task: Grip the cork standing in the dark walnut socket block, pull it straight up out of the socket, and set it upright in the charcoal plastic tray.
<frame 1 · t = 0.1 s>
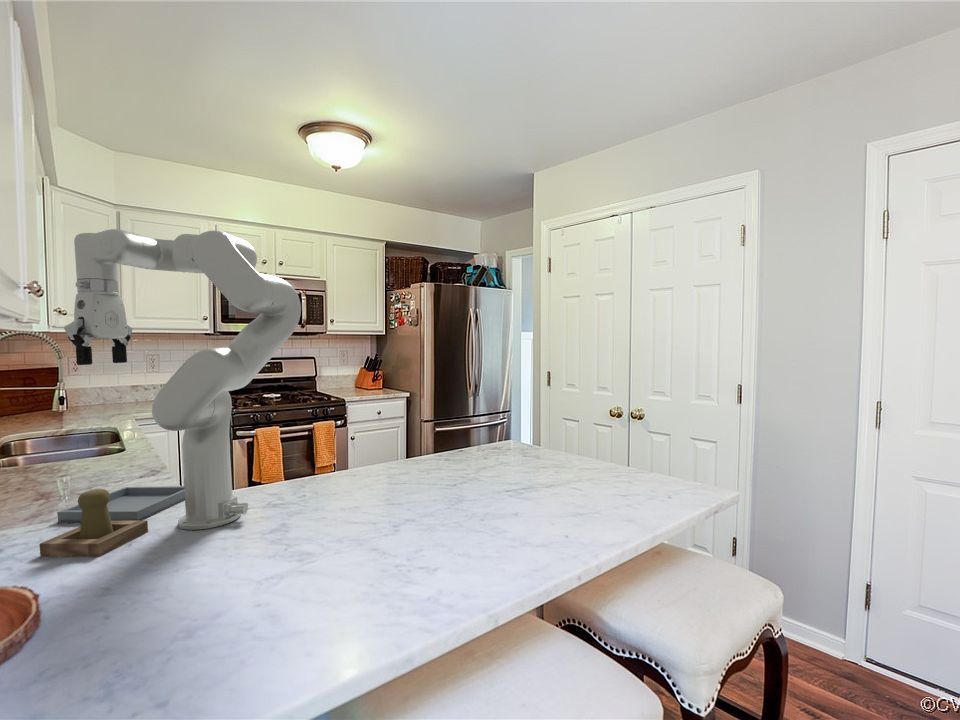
hand: (103, 363, 115), 37 cm above the countertop, tool pointing down, fingers open, 9 cm apart
socket block: (97, 543, 103), on the countertop
cork: (97, 544, 103), resting in socket block
tray: (131, 507, 125), on the countertop
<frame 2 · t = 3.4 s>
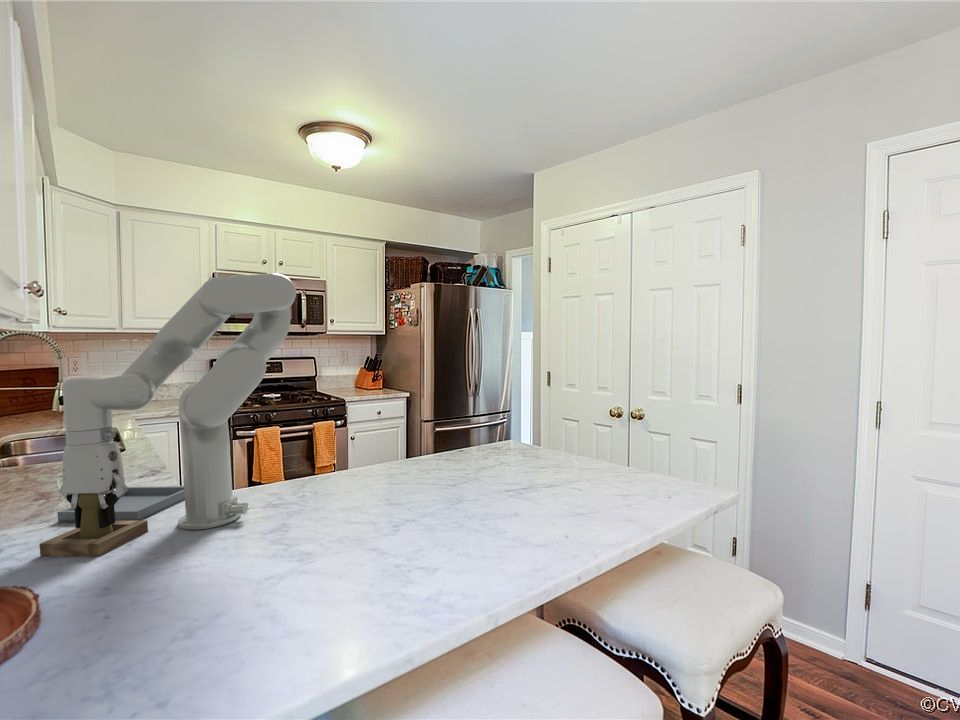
hand: (95, 524, 102), 4 cm above the countertop, tool pointing down, fingers closed on cork, 4 cm apart
cork: (97, 544, 102), resting in socket block, touching gripper
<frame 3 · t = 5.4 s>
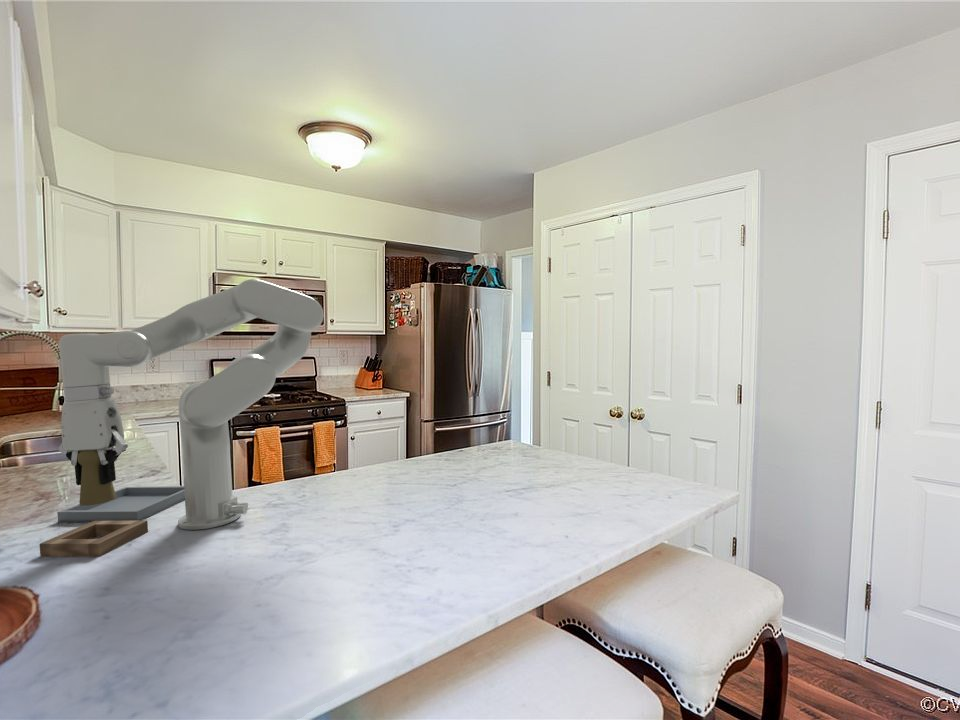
hand: (96, 481, 102), 13 cm above the countertop, tool pointing down, fingers closed on cork, 4 cm apart
cork: (98, 501, 103), point 9 cm above the countertop, touching gripper
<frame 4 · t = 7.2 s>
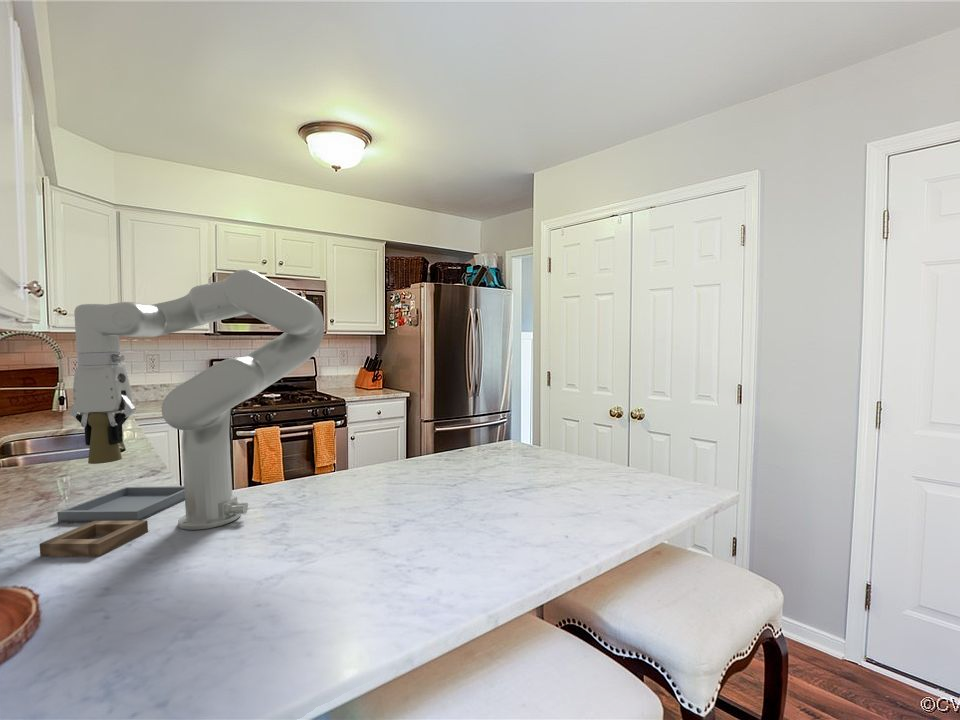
hand: (104, 442, 110), 19 cm above the countertop, tool pointing down, fingers closed on cork, 4 cm apart
cork: (105, 461, 110), point 15 cm above the countertop, touching gripper
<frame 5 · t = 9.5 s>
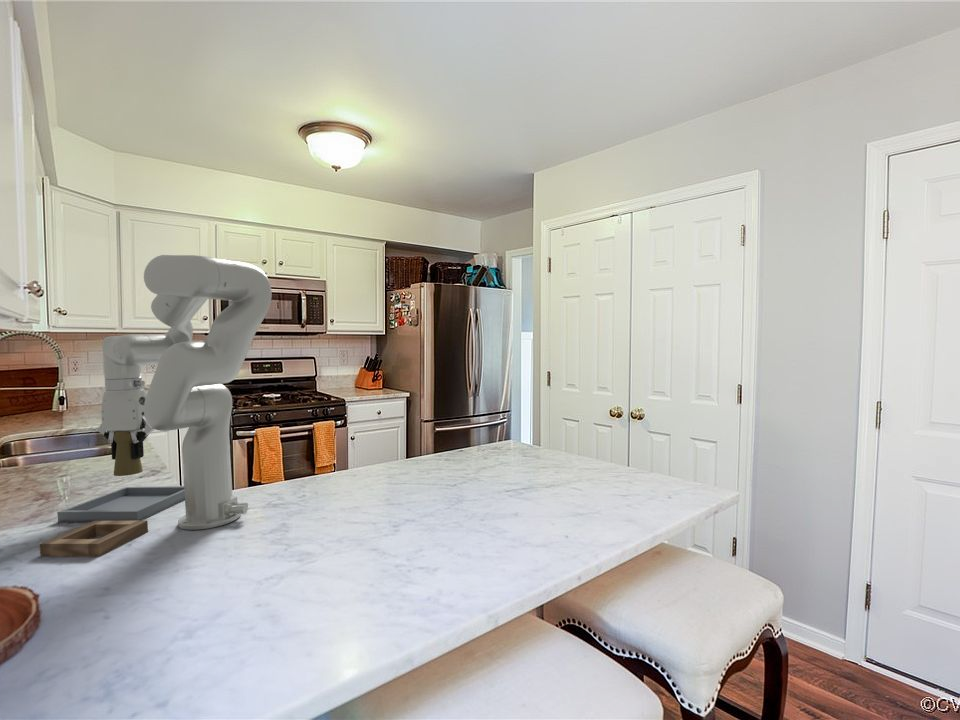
hand: (128, 457, 125), 13 cm above the countertop, tool pointing down, fingers closed on cork, 4 cm apart
cork: (128, 473, 125), point 9 cm above the countertop, touching gripper
when the fingers open (6 cm above the countertop, at t = 11.1 s): cork drops 1 cm, resting on tray.
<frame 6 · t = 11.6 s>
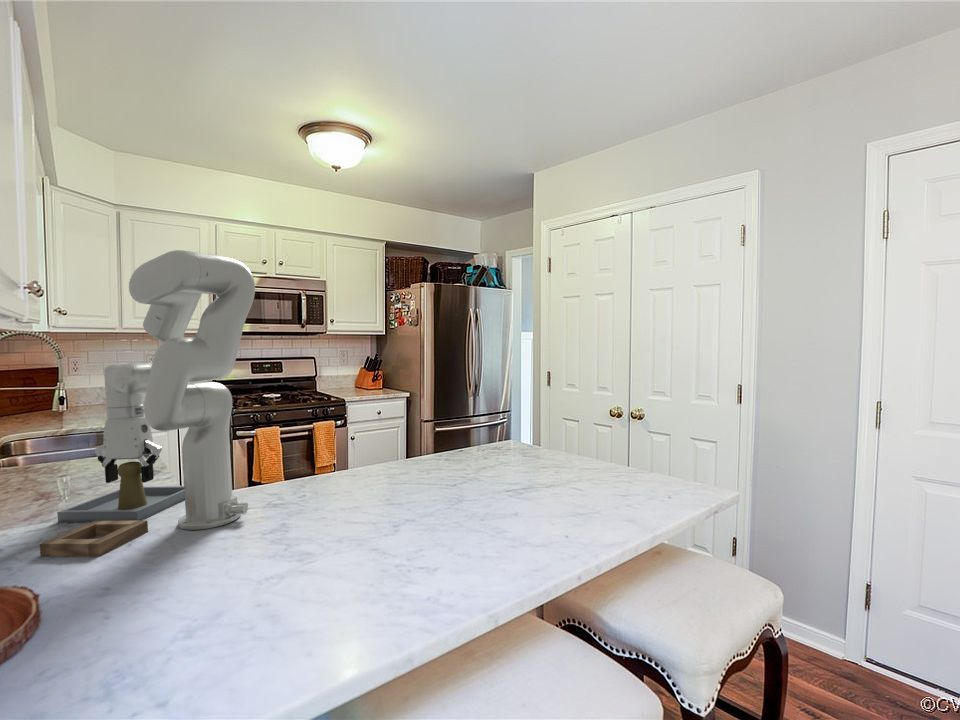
hand: (129, 481, 125), 7 cm above the countertop, tool pointing down, fingers open, 9 cm apart
cork: (132, 506, 125), resting on tray
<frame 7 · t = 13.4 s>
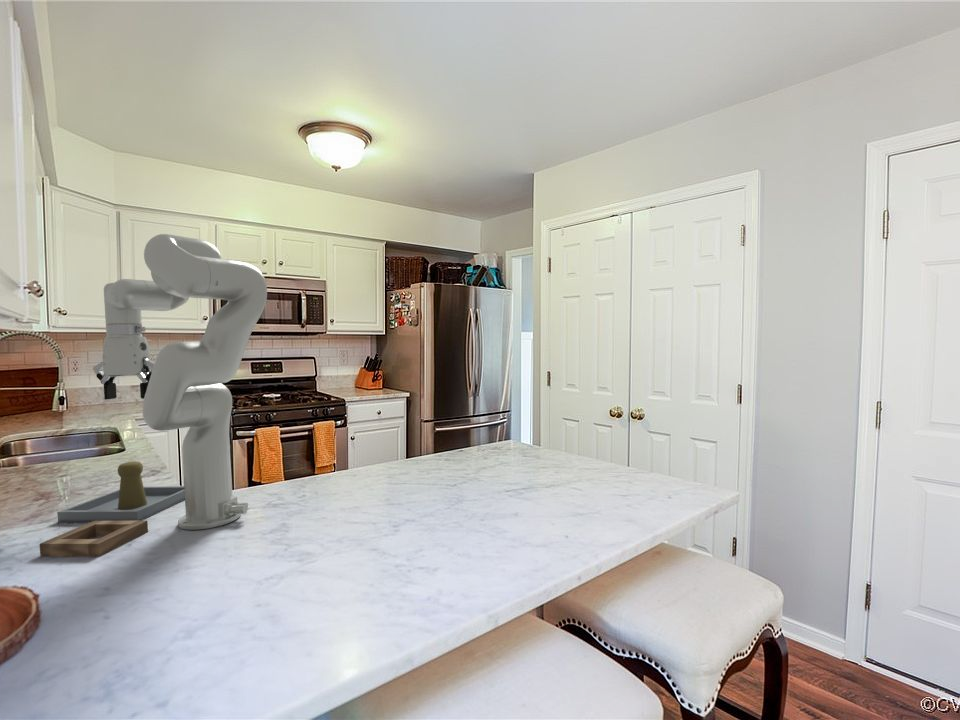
hand: (128, 398, 128), 27 cm above the countertop, tool pointing down, fingers open, 9 cm apart
nothing on the countertop moved.
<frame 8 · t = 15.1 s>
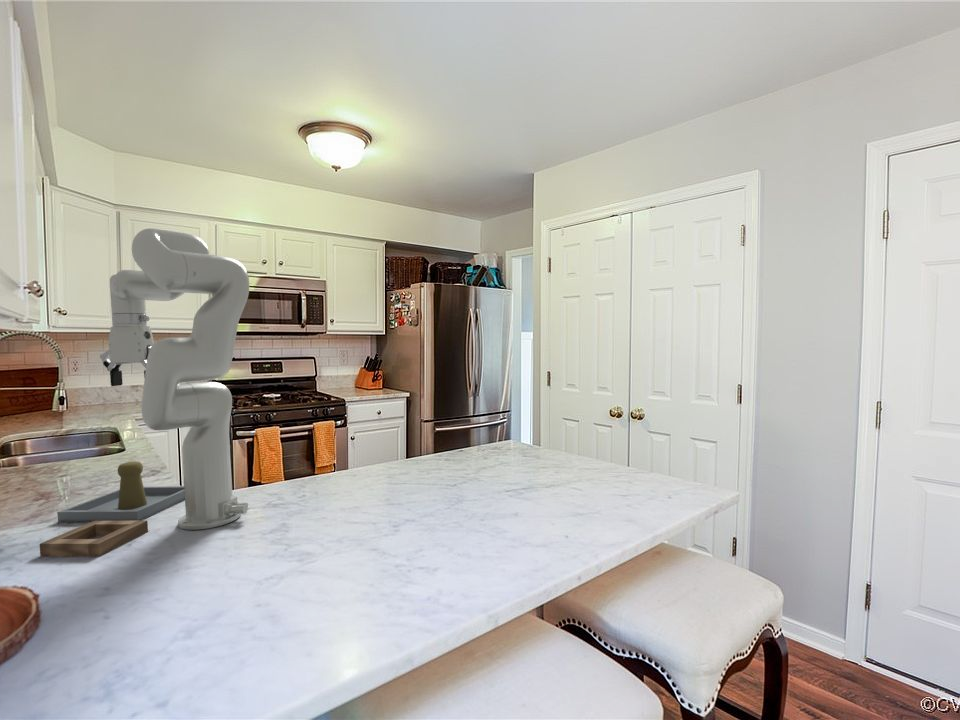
hand: (133, 385, 134), 30 cm above the countertop, tool pointing down, fingers open, 9 cm apart
nothing on the countertop moved.
at the end: cork inside the target area on the tray (0.5 cm from its centre), point 0.4 cm above the tray's base; cork tilted 0°; the gripper is holding nothing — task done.
